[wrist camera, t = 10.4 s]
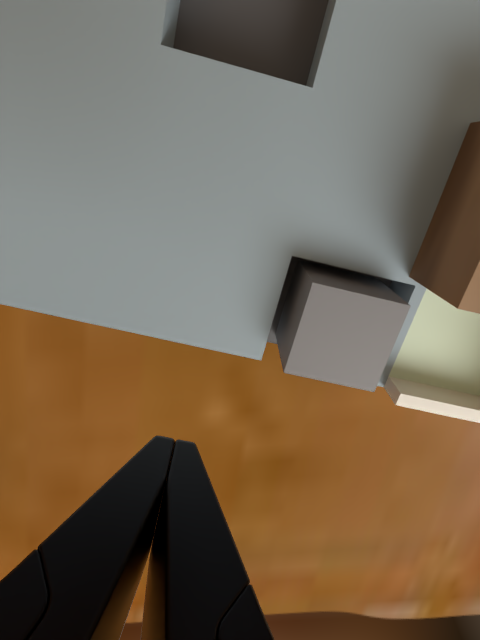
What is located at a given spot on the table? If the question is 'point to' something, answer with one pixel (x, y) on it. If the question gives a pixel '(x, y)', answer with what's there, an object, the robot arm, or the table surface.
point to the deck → (236, 166)
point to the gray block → (338, 326)
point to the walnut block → (455, 233)
